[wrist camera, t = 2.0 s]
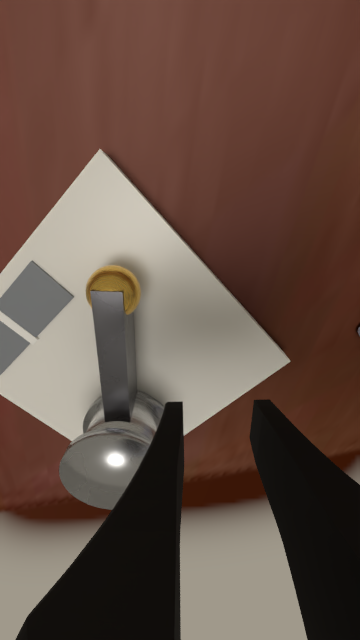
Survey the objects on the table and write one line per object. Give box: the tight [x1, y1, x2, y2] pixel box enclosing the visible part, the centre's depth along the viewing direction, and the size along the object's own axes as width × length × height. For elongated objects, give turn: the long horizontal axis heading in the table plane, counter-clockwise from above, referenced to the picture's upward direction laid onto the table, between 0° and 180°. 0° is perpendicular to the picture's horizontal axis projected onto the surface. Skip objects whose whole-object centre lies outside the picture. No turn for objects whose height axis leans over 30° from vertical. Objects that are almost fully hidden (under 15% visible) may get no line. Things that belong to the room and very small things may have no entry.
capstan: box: [59, 265, 165, 510], centre depth 16 cm, size 17×7×5 cm, turn 178°
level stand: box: [0, 149, 290, 441], centre depth 19 cm, size 18×18×2 cm
